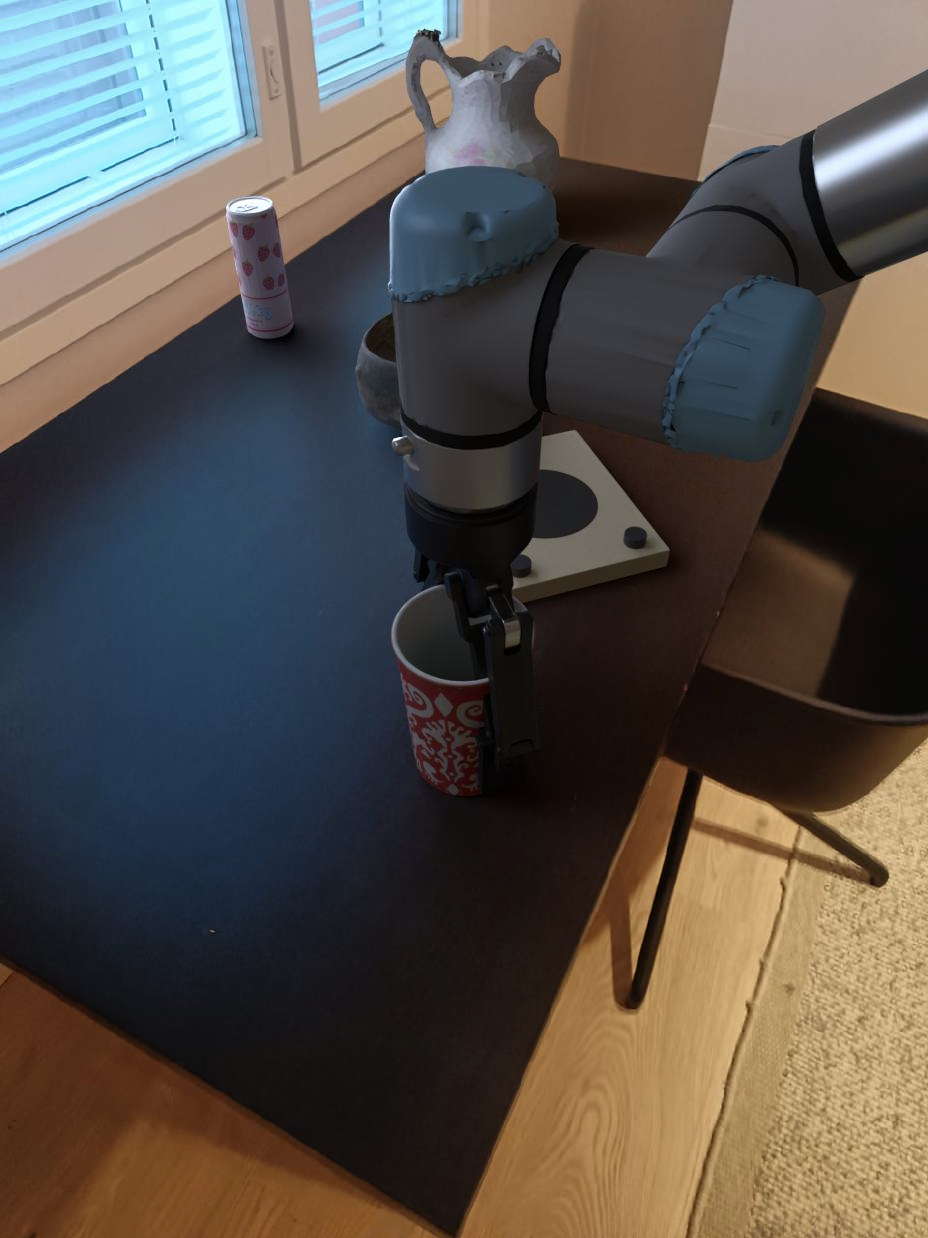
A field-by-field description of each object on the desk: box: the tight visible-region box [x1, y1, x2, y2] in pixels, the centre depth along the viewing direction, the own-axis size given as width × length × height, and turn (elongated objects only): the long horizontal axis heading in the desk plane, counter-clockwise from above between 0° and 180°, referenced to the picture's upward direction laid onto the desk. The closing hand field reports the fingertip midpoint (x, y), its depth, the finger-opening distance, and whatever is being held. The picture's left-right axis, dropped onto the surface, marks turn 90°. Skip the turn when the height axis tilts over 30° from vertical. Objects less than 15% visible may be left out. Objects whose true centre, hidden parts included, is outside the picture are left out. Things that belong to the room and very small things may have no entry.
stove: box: [510, 429, 671, 604], centre depth 84 cm, size 20×16×3 cm
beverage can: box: [225, 195, 294, 340], centre depth 106 cm, size 6×6×15 cm
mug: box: [390, 584, 536, 797], centre depth 62 cm, size 13×9×14 cm
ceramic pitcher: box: [405, 28, 562, 194], centre depth 125 cm, size 22×20×25 cm
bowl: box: [354, 311, 402, 433], centre depth 93 cm, size 14×15×10 cm
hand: (470, 723), depth 65 cm, fingers closed on mug, 11 cm apart
